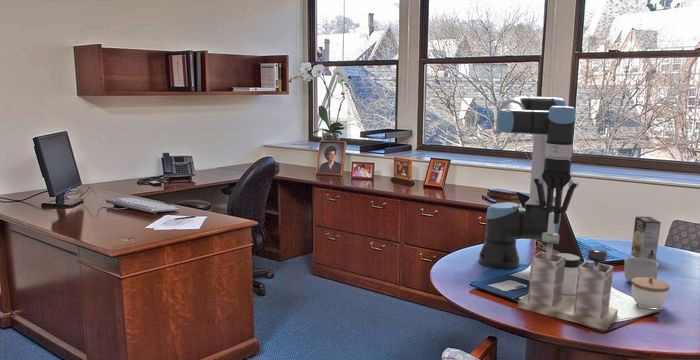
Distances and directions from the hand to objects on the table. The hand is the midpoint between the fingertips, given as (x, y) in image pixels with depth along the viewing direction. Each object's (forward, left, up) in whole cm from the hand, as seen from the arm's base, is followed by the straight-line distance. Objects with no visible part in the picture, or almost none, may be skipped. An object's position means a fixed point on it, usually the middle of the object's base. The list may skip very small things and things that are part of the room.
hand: (550, 233), depth 179 cm
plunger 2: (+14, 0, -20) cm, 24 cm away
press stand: (+7, 0, -24) cm, 25 cm away
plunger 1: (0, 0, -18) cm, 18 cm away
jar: (+1, +18, -24) cm, 30 cm away
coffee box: (+15, +79, -24) cm, 84 cm away
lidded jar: (+26, +22, -24) cm, 42 cm away
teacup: (+19, +45, -24) cm, 54 cm away
